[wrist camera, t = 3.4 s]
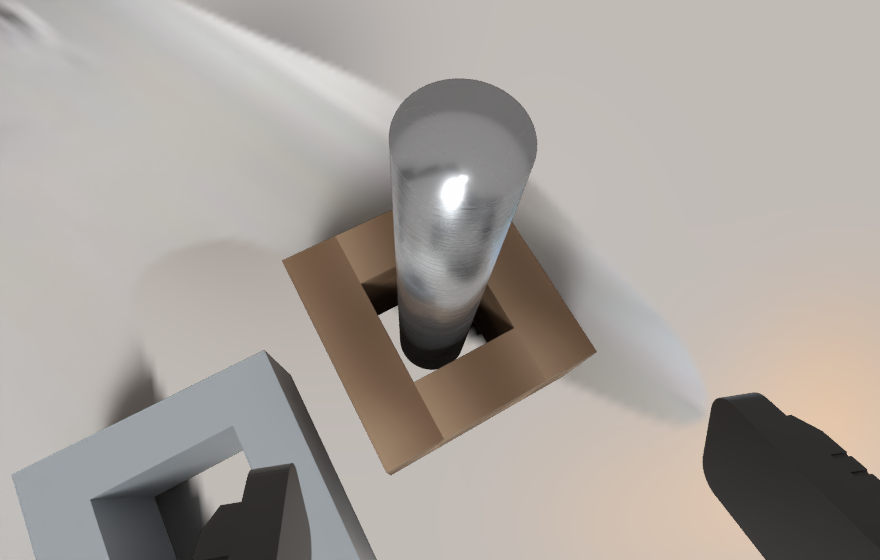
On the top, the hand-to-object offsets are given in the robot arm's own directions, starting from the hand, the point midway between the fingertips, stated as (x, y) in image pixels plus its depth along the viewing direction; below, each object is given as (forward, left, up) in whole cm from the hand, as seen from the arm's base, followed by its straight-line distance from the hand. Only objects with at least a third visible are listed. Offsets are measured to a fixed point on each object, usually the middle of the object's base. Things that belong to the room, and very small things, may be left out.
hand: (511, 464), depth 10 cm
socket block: (-9, +3, -14) cm, 17 cm away
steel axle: (+2, +6, -14) cm, 16 cm away
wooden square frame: (+2, +6, -14) cm, 16 cm away
